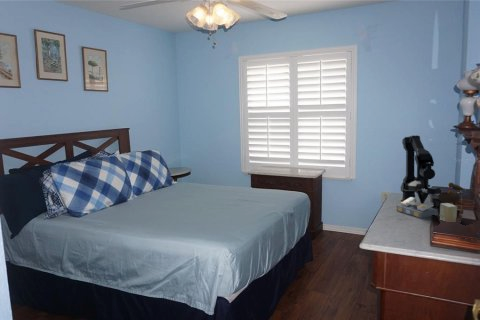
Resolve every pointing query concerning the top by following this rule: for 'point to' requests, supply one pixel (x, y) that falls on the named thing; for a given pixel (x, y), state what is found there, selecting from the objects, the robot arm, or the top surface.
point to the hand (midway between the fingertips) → (422, 203)
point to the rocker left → (406, 202)
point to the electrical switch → (436, 201)
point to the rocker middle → (414, 203)
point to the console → (416, 211)
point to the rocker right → (424, 206)
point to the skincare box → (448, 212)
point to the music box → (452, 198)
